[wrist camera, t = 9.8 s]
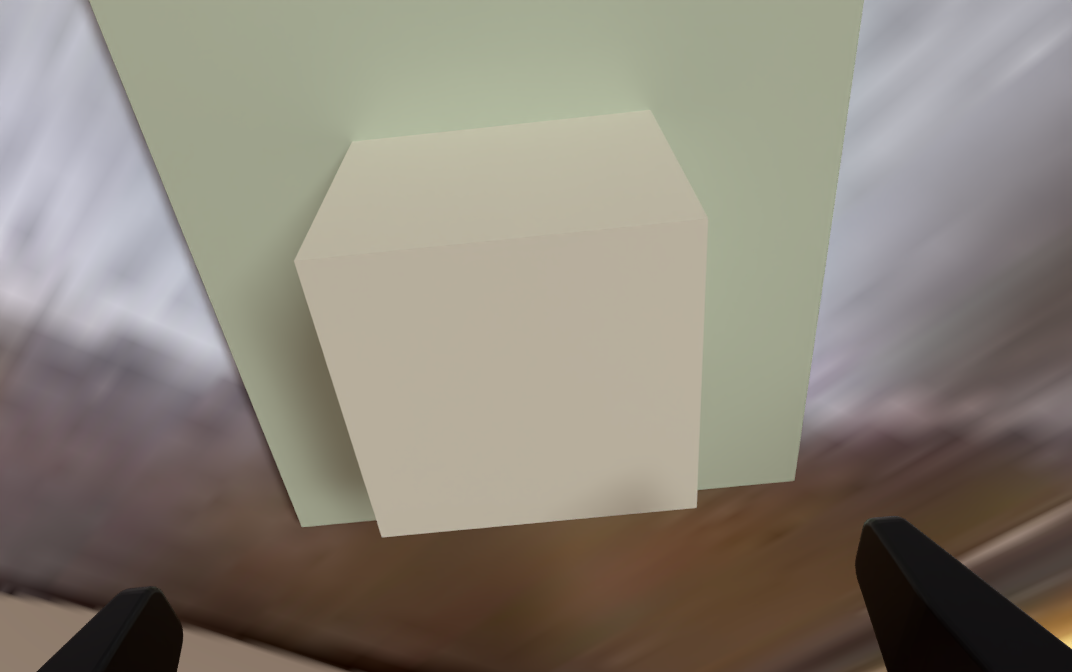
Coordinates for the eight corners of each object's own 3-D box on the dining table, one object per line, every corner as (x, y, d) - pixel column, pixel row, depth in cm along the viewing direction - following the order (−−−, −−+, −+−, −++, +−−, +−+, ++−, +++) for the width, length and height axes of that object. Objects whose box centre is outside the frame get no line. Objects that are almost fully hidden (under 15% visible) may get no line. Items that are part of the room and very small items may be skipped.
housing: (650, 110, 15) (708, 218, 11) (652, 353, 18) (696, 507, 14) (352, 141, 15) (293, 260, 11) (409, 377, 18) (381, 537, 14)
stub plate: (871, -230, 13) (982, -249, 10) (783, 456, 22) (826, 552, 19) (64, -138, 13) (-63, -129, 10) (309, 500, 22) (280, 602, 19)
